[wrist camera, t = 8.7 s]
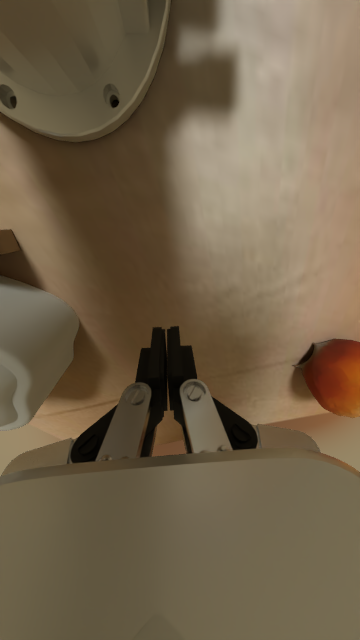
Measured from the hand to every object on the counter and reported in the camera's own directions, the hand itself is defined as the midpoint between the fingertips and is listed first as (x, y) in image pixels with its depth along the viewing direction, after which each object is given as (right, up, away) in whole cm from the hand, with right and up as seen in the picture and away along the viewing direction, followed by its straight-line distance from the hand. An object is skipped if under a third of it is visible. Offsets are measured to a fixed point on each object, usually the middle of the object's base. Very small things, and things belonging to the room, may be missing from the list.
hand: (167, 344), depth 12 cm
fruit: (+19, -3, +10) cm, 22 cm away
